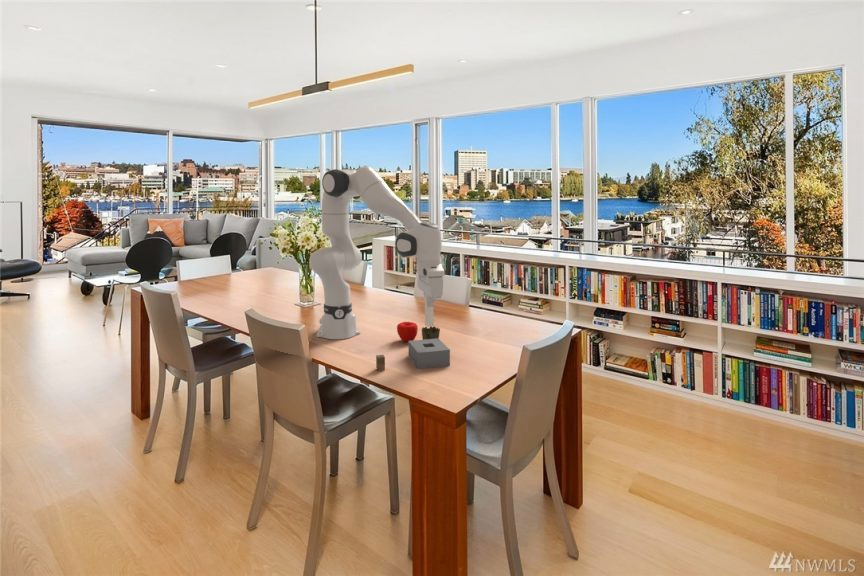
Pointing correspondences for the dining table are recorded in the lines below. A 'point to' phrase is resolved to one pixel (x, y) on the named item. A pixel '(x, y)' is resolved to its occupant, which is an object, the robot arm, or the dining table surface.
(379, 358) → the short pin
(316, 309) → the dining table surface
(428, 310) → the tall pin
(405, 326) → the apple
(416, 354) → the hole block
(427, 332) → the small green plant
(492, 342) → the dining table surface
